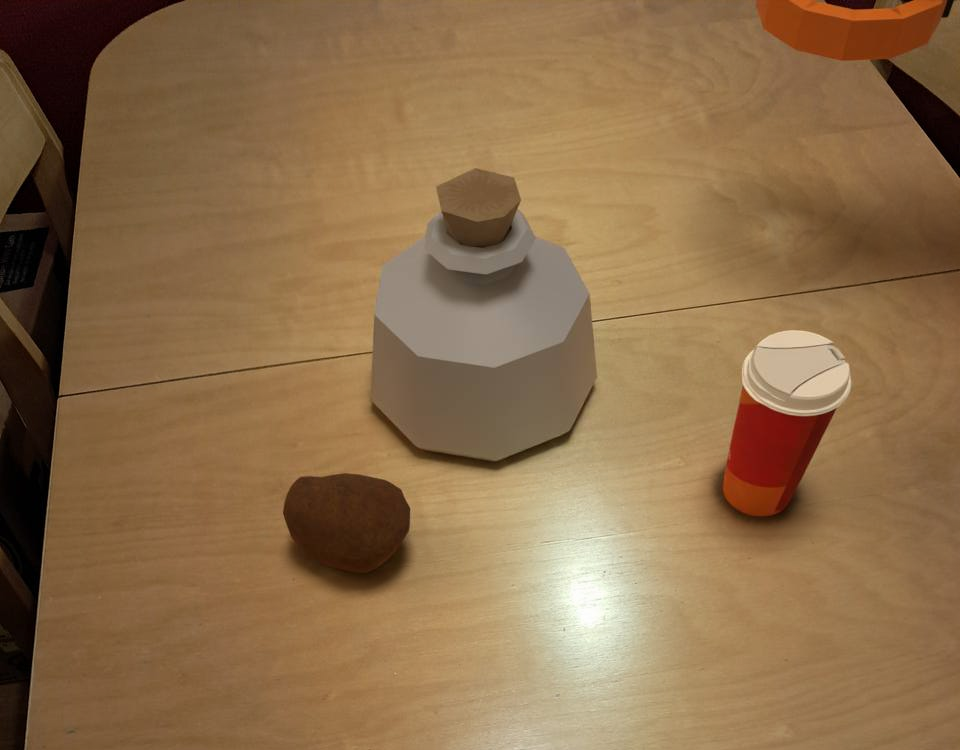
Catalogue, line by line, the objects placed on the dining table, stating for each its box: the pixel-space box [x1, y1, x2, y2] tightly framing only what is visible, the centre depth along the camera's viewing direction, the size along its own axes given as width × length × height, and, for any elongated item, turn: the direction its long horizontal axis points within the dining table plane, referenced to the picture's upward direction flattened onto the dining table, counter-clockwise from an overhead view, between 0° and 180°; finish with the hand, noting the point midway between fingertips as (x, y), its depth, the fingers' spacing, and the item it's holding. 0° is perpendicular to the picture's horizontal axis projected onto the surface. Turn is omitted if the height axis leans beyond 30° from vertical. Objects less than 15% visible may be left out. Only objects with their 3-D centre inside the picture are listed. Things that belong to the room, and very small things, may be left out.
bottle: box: [370, 167, 598, 463], centre depth 79 cm, size 20×20×19 cm
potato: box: [282, 472, 411, 574], centre depth 74 cm, size 7×10×8 cm
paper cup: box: [722, 329, 852, 517], centre depth 74 cm, size 8×8×14 cm
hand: (924, 8), depth 79 cm, fingers closed
